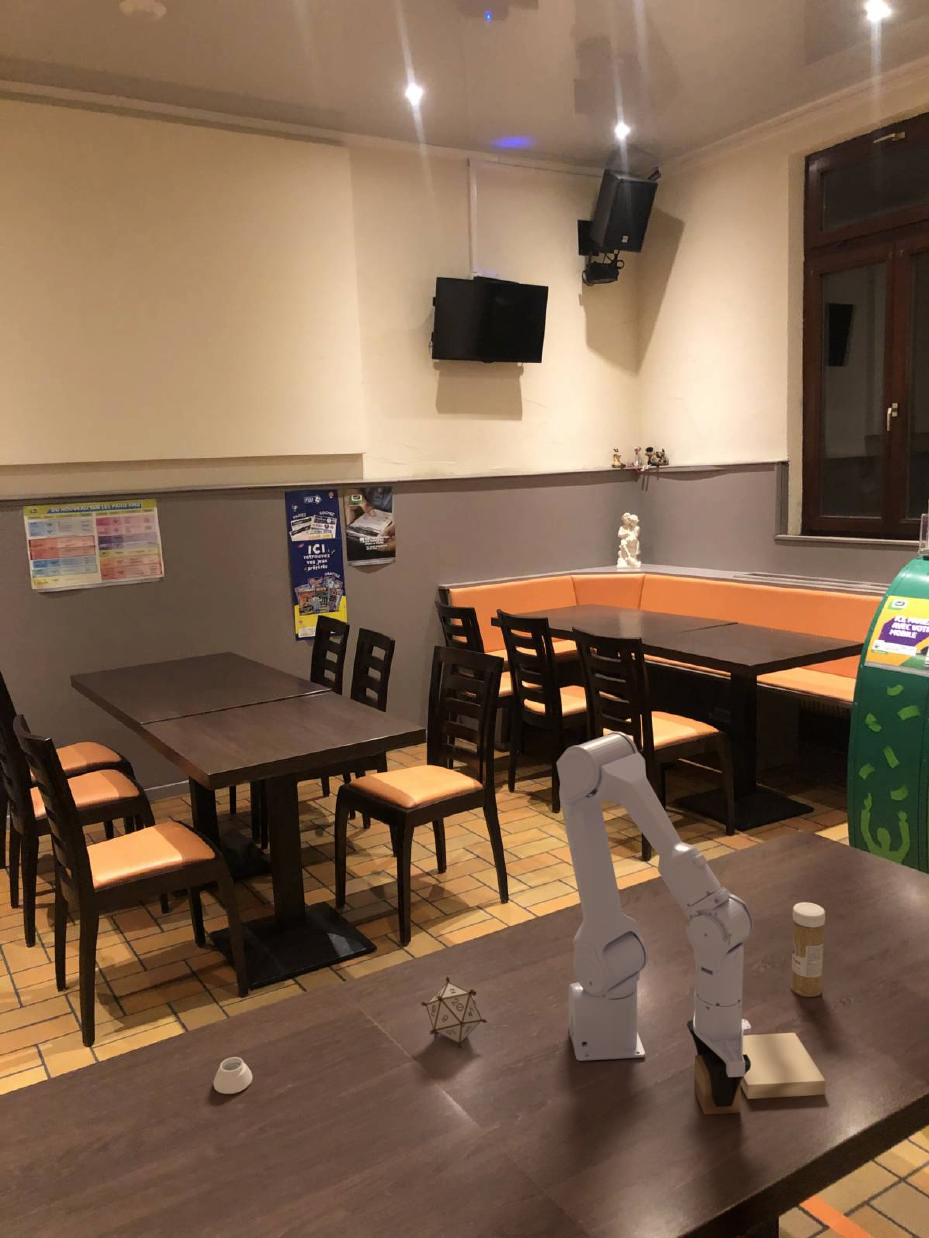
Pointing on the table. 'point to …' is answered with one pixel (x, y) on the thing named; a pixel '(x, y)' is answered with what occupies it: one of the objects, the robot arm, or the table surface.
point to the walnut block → (710, 1091)
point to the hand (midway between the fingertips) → (716, 1090)
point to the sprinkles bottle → (807, 949)
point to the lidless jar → (232, 1076)
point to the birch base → (779, 1067)
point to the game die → (453, 1012)
